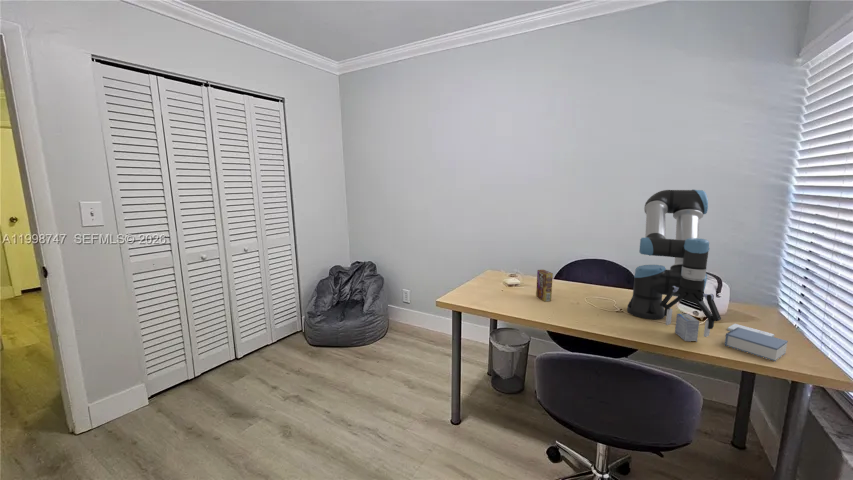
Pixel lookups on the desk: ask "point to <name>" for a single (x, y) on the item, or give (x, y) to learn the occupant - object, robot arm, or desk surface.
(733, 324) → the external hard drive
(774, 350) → the book
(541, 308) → the desk surface
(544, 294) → the candy box
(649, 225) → the robot arm
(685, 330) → the medicine box
